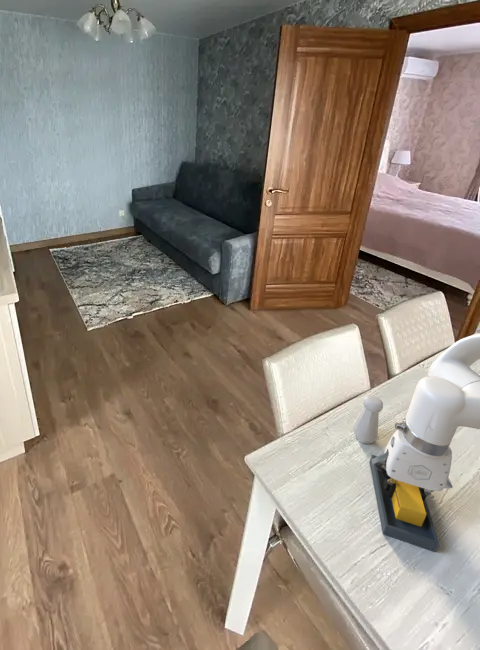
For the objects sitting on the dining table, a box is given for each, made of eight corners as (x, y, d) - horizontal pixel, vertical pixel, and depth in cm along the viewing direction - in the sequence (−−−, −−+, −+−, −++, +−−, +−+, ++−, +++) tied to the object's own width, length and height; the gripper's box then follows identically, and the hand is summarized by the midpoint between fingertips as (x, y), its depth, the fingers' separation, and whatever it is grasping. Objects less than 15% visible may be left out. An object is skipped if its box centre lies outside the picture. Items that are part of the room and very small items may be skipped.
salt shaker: (378, 436, 90) (390, 399, 85) (372, 451, 86) (384, 413, 81) (354, 423, 94) (364, 387, 89) (347, 437, 90) (358, 400, 85)
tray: (412, 474, 81) (415, 466, 80) (435, 552, 67) (439, 544, 66) (369, 461, 84) (371, 454, 83) (382, 534, 69) (385, 526, 69)
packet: (421, 527, 69) (426, 514, 68) (395, 518, 70) (400, 506, 69) (407, 475, 79) (411, 463, 77) (384, 469, 80) (388, 457, 79)
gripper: (380, 438, 67) (361, 499, 74) (486, 466, 62) (455, 528, 69) (373, 408, 73) (356, 467, 80) (468, 431, 68) (441, 491, 75)
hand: (402, 495), depth 74 cm, fingers closed on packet, 4 cm apart
